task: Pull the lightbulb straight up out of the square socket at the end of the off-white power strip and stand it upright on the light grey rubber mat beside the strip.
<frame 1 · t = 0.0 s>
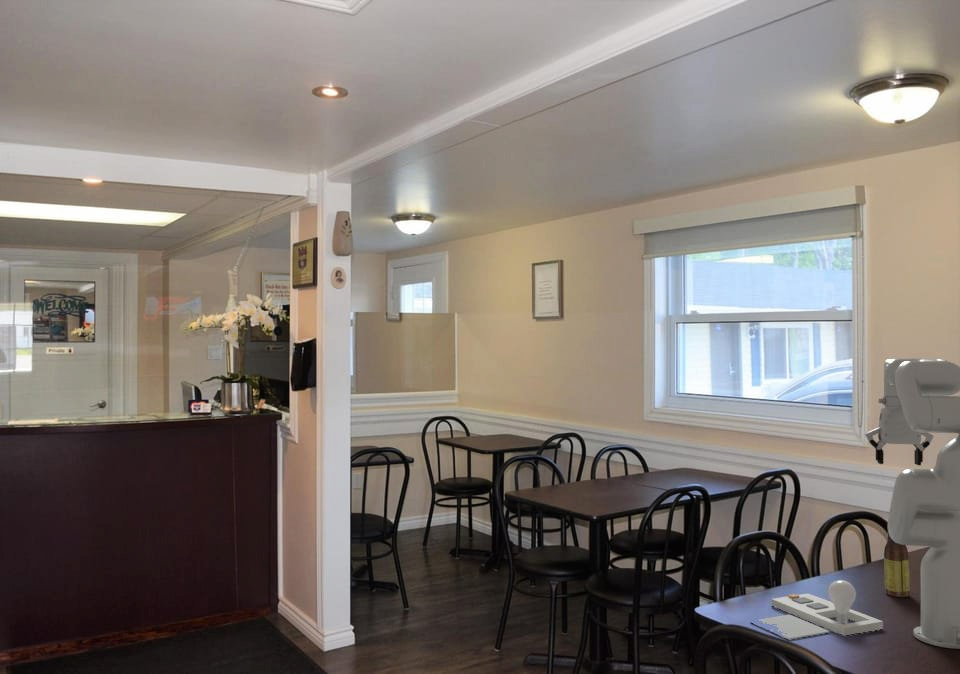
hand: (899, 464, 221), 37 cm above the table, tool pointing down, fingers open, 9 cm apart
sauce bottle: (896, 595, 223), on the table
lightbulb: (842, 625, 198), resting in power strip
mat: (789, 627, 195), on the table
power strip: (824, 617, 203), on the table
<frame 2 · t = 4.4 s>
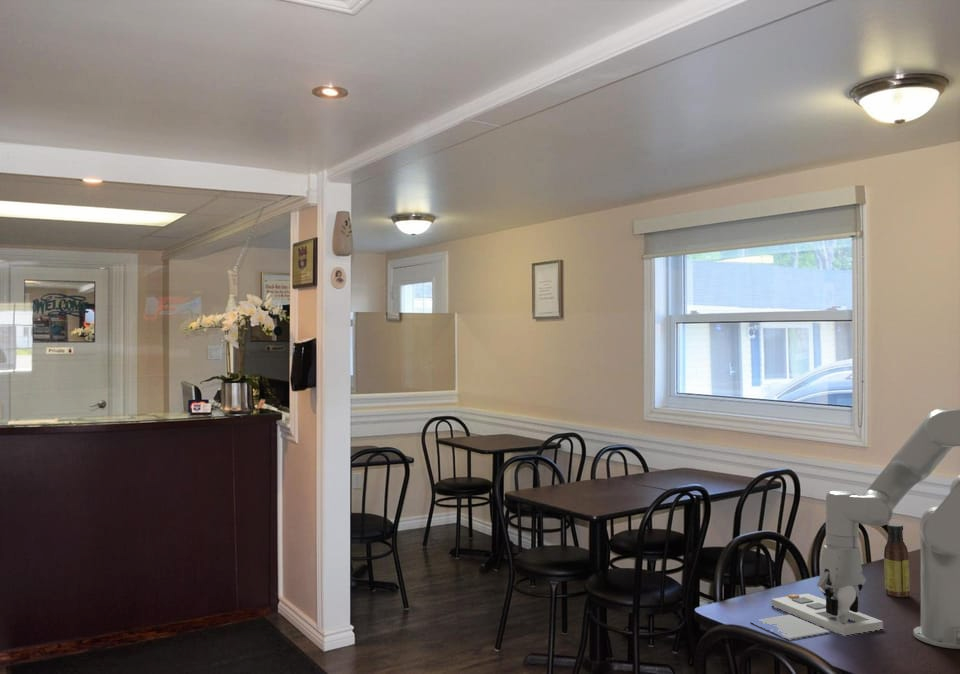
hand: (841, 611, 198), 3 cm above the table, tool pointing down, fingers closed on lightbulb, 6 cm apart
lightbulb: (842, 625, 198), resting in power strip, touching gripper
everything else where it was.
when the fingers open (5 cm above the table, at t = 11.4 s): lightbulb drops 2 cm, resting on mat.
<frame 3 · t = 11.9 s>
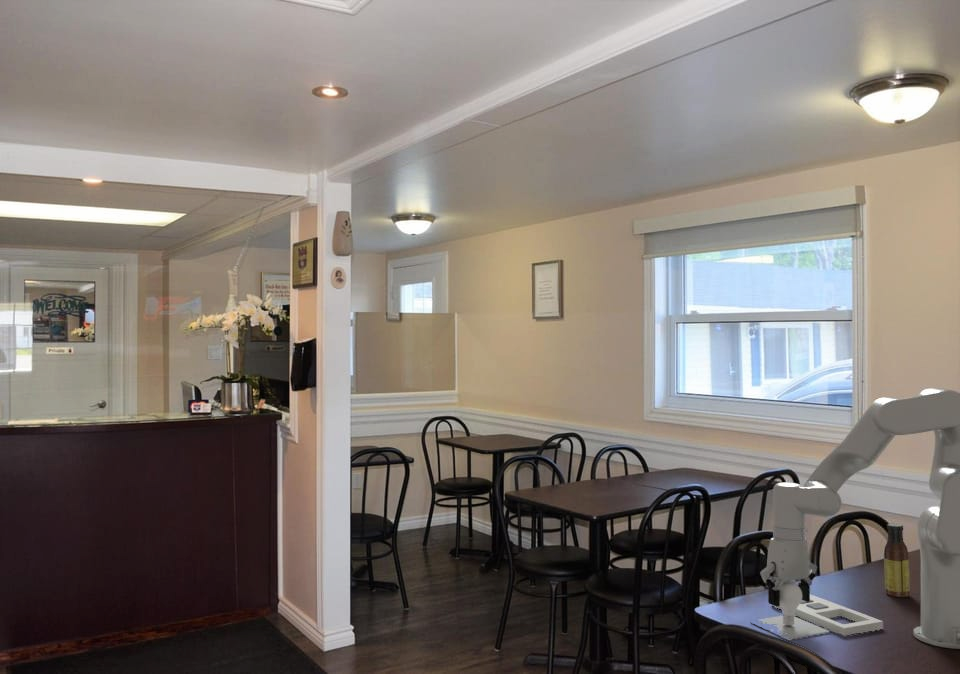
hand: (789, 602, 196), 6 cm above the table, tool pointing down, fingers open, 9 cm apart
lightbulb: (788, 626, 195), resting on mat
everything else where it was.
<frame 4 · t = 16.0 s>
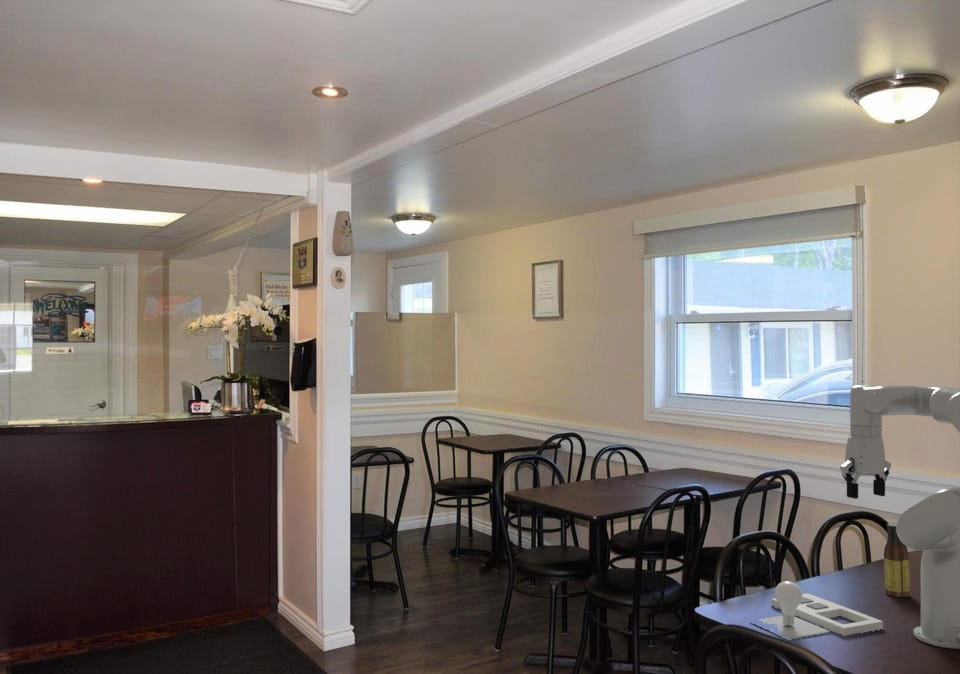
hand: (865, 496, 209), 30 cm above the table, tool pointing down, fingers open, 9 cm apart
nothing on the table moved.
at the end: lightbulb inside the target area on the mat (0.2 cm from its centre), point 0.3 cm above the mat's base; lightbulb tilted 0°; the gripper is holding nothing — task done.
